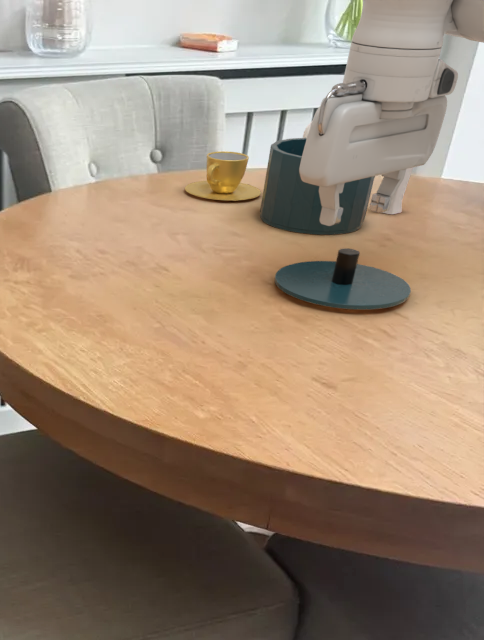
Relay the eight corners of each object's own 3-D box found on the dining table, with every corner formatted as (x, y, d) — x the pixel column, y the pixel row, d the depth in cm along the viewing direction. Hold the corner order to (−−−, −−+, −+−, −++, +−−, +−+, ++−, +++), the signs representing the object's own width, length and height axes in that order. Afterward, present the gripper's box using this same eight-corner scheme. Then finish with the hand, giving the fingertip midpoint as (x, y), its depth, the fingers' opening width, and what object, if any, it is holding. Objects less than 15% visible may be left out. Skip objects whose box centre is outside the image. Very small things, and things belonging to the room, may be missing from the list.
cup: (209, 179, 146) (214, 144, 142) (274, 192, 140) (280, 155, 136) (169, 193, 138) (173, 156, 135) (235, 207, 132) (241, 168, 129)
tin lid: (434, 295, 103) (446, 256, 100) (356, 325, 96) (367, 283, 93) (325, 261, 113) (333, 224, 110) (246, 286, 105) (253, 246, 102)
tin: (382, 223, 127) (400, 151, 121) (320, 241, 120) (336, 165, 114) (301, 201, 136) (314, 133, 130) (239, 217, 128) (250, 145, 123)
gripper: (354, 89, 83) (321, 239, 92) (467, 74, 94) (428, 210, 102) (300, 80, 87) (273, 225, 96) (415, 66, 97) (381, 198, 106)
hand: (354, 217), depth 99 cm, fingers open, 8 cm apart
